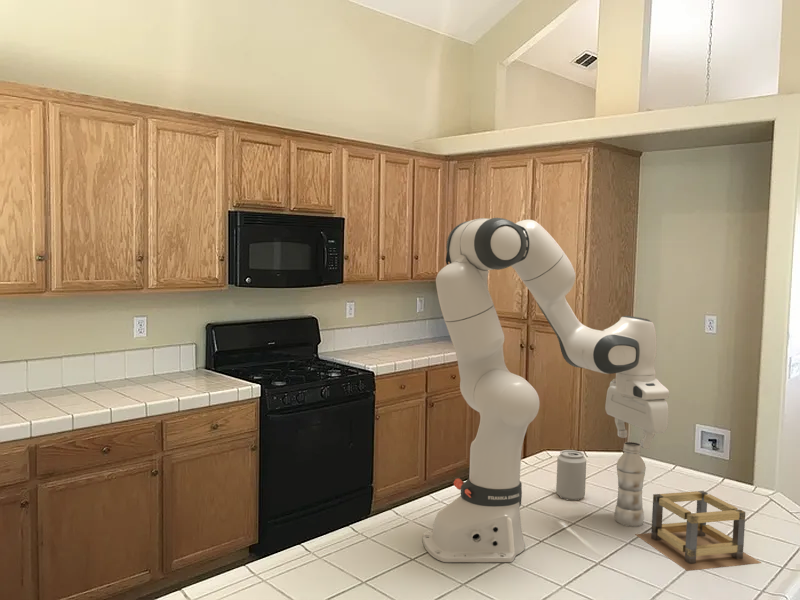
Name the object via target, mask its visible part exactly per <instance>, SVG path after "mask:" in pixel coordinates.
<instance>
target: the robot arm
mask: <svg viewBox="0 0 800 600" xmlns="http://www.w3.org/2000/svg"><path fill="white" fill-rule="evenodd" d="M445 247H446V256H445V263H446V265H445V266H444V267H442V268H441V269H440V270H439V272H438V273H437V275H436V277H435V285H436V291H437V292H436V293H437V297H438V302H439V306H440V309H441V314H442V317H443V320H444V323H445V325H446V329H447V331H448V335H449V337H450V340H451V343H452V345H453V349H454V352H455V355H456V360H457V366H458V374H459V378H460V382H459V389H460V390H459V391H460V393H461V396H462V398H463V399H464V401H465V402H466V404H468V406H469V407H470V408H471V409H473V410H474V411H476V412H478V413H479V416H480V419H479V424H478V425H479V426H478V429H477V433H476V436H475V438H474V439H473V440H472V441H471V443H470V449H469V477H468V478H467V480H465V482H464V481H463V480H462V479H461V478H458V477H457V478H455V479H454V481H453V486H454V487H455V488H456V489H457V490H460V496H458V497H457V498H456V499H453V501H452V502H450V503H449V504H448V505H446V506H445V507H443V508H442V509H441V510H440V511H438V512H437V514H436V515H435V518H434V522H433V528H432V530H429V531H424V533H423V535H422V545H423V547H424V548H425V550H426V552H427V553H428V554H429V555H430V556H431V557H433V558H434V559H435V560H438V561H441V562H442V563H511V562H514V560H515V558H516V556H517V555H519V554H521V553H522V552H523V551H524V550H525V549H526V544H525V539H524V534H523V529H522V523H521V522H522V521H521V505H522V499H523V498H522V497H523V495H522V494H523V491H522V487H523V485H522V482H521V466H522V465H521V464H522V463H521V462H522V451H523V450H522V449H523V443H524V439H525V436H526V433H527V429H528V427H529V425H530V423H532V422H533V421H534V420H535V418H536V417H537V415H538V414H539V410H540V397H539V394H538V392H537V390H536V389H535V388H534V387H533V386H532V384H531V383H529V381H527V380H526V378H525V377H522V376H520V375H518V374H515V373H513V372H510V370H509V369H508V367H507V365H506V362H505V357H504V356H505V355H504V342H505V340H506V339H505V334H504V330H503V328H502V325H501V321H500V318H499V316H498V313H497V310H496V308H495V304H494V301H493V298H492V296H491V293H490V291H489V286H488V278H489V273H490V271H492V270H493V271H494V270H498V271H499V270H505V269H508V268H509V267H511V268H512V270H513V269H514V271H515V272H516V274H517V276H518V277H519V278H520V280H521V281H522V282H523V284H524V285H525V287H526V288H527V290H529V292H530V294H531V295H532V296H533V299H534V300H535V302H536V304H537V306H538V307H539V309H540V311H541V313H542V314H543V316H544V317H545V319H546V320H547V323H548V324H549V326H550V327H551V329H552V331H553V332H554V333H555V336H556V338H557V341H558V343H559V348H560V352H561V355H562V357H563V359H564V360H565V362H567V364H569V365H570V366H572V367H574V368H581V369H586V370H588V371H589V370H590V371H593V372H596V373H601V374H604V375H605V374H606V375H611V374H613V375H614V374H615V378H613V379H612V380H611V381H610V383H609V386H608V388H607V391H606V398H605V405H604V409H605V412H606V414H607V415H608V416H610V417H613V418H614V423H615V424H614V425H615V427H616V430H617V434H616V435H617V436H618V438H621V439H627V437H628V430H627V429H626V424H625V423H627V424H629V425H632V426H634V427H635V428H636V427H637V428H638V429H641V430H642V434H643V438H642V439H640V443H639V444H640V446H641V448H642V449H645V450H650V449H651V448H652V446H651V445H652V441H653V439H654V437H655V435H656V434H664V433H666V430H667V429H668V426H669V425H668V424H669V404H668V401H667V400H666V399H669V397H670V391H669V389H668V388H667V387H666V386H665V385H664V384H662V383H661V382H660V381H659V379H658V378H657V377H656V374H657V371H656V369H655V360H656V357H657V332H656V331H657V330H656V327H655V324H654V322H652V320H650V319H648V318H644V317H638V316H631V315H622V316H621V317H620V318H619V320H618V321H617V322H616V323H614V324H613V325H611V326H609V327H607V328H605V329H602V330H599V329H596V328H595V329H594V328H591V327H588V326H587V325H585V324H583V323H582V322H581V321H580V320H579V319H578V318H577V316H576V314H575V313H574V311H573V309H572V307H571V306H570V304H569V303H568V301H567V299H566V296H567V295H568V294H569V293H570V292H571V290H572V289H573V287H574V285H575V282H576V278H577V277H576V270H575V269H574V266H573V264H572V261H571V260H570V259H569V257H568V256H567V254H566V253H565V251H564V250H563V249H562V247H561V246H560V244H558V242H557V241H556V239H554V237H553V236H552V235H551V233H549V232H548V230H546V228H544V227H543V225H541V224H540V223H539V222H537V221H536V220H533V219H523V220H519V221H517V222H513V221H511V220H509V219H506V218H502V217H492V218H484V217H481V218H476V219H472V220H468V221H467V220H466V221H464V222H461V223H459V224H457V225H456V226H455V227H454V228H452V230H451V231H450V232H449V234H448V237H447V239H446V246H445Z"/></svg>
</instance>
